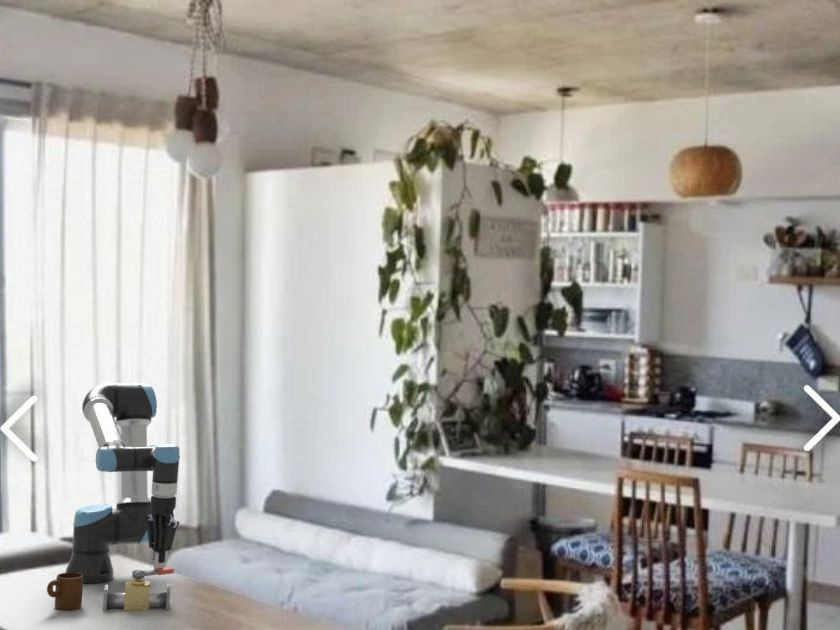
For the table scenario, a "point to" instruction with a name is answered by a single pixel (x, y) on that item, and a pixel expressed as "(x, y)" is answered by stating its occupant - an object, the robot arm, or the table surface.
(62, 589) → the mug
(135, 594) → the valve pipe
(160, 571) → the lever
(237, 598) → the table surface
